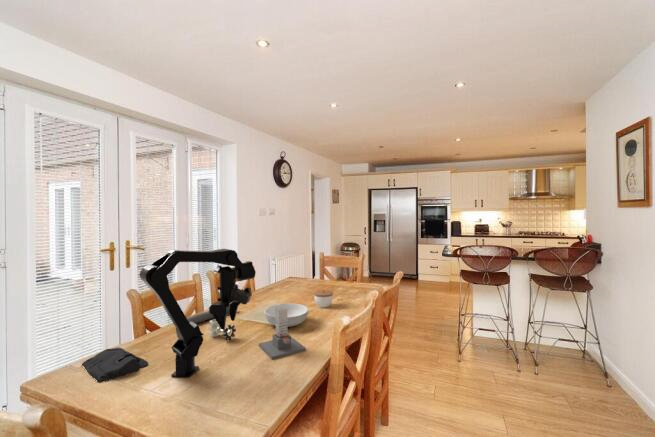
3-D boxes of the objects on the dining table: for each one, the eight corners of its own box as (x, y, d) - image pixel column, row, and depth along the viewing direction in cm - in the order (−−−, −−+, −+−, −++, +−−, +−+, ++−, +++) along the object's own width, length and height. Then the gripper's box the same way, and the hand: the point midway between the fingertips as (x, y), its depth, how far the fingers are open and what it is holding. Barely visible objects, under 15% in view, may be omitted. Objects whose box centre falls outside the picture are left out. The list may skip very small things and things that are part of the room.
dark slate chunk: (125, 350, 124) (125, 338, 124) (151, 367, 111) (151, 353, 110) (77, 366, 112) (77, 352, 112) (99, 386, 98) (99, 371, 98)
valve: (204, 337, 136) (224, 343, 129) (204, 322, 135) (223, 327, 129) (217, 332, 141) (236, 337, 135) (216, 317, 141) (236, 322, 135)
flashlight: (182, 326, 149) (182, 316, 149) (230, 310, 172) (230, 301, 172) (188, 328, 146) (188, 318, 146) (236, 312, 169) (236, 303, 169)
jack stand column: (279, 339, 122) (279, 310, 121) (275, 335, 125) (275, 307, 124) (287, 337, 124) (287, 308, 123) (283, 334, 127) (283, 306, 126)
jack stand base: (271, 359, 115) (271, 345, 114) (258, 345, 126) (258, 332, 126) (305, 350, 122) (305, 337, 122) (290, 338, 134) (290, 325, 134)
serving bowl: (256, 329, 144) (256, 314, 144) (275, 315, 164) (275, 302, 164) (300, 333, 139) (300, 318, 139) (313, 318, 159) (313, 304, 159)
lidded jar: (311, 304, 182) (311, 288, 181) (328, 302, 186) (327, 286, 186) (318, 310, 172) (318, 293, 172) (336, 307, 176) (336, 290, 176)
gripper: (239, 289, 106) (240, 335, 107) (256, 278, 125) (257, 317, 125) (207, 289, 107) (208, 334, 108) (229, 277, 126) (230, 316, 126)
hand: (228, 324), depth 117 cm, fingers open, 9 cm apart
